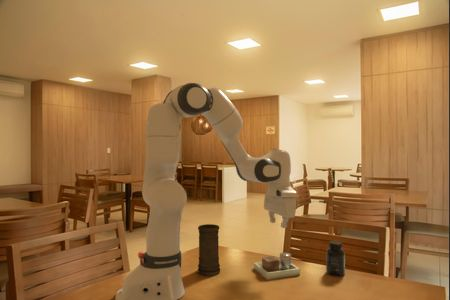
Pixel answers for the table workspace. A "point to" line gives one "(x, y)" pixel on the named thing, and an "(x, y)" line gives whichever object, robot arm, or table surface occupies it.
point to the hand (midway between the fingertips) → (278, 225)
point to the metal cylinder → (285, 261)
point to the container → (208, 250)
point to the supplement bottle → (335, 259)
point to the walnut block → (270, 264)
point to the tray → (276, 272)
